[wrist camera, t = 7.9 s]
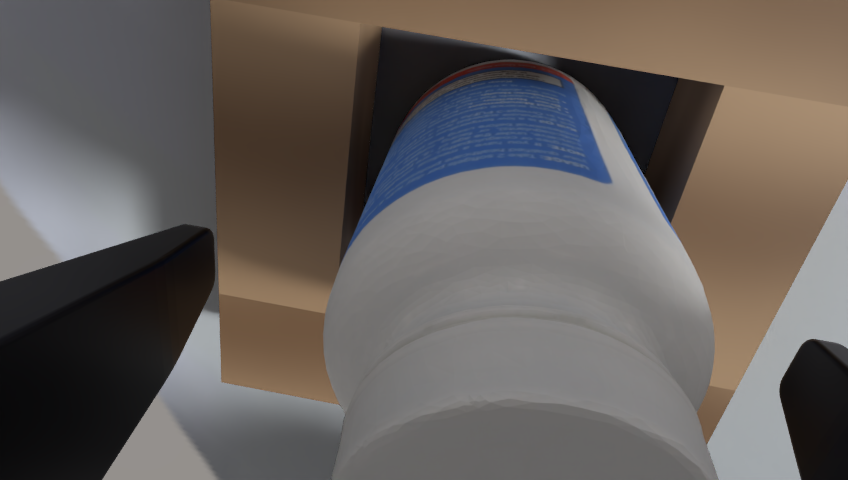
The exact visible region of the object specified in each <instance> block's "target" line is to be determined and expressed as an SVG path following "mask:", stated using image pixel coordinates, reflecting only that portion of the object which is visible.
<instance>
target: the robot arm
mask: <svg viewBox="0 0 848 480" xmlns="http://www.w3.org/2000/svg"><path fill="white" fill-rule="evenodd" d="M214 281H215V253H214V237H213V233H212V231H211V230H210V229H208V228H205V227H199V226H194V225H188V224H183V225H180V226H176V227H173V228H170V229H167V230H164V231H160V232H157V233H154V234H151V235H148V236H144V237H141V238H138V239H135V240H132V241H128V242H125V243H122V244H119V245H116V246H112V247H109V248H106V249H103V250H100V251H96V252H93V253H90V254H87V255H84V256H80V257H77V258H74V259H71V260H68V261H64V262H61V263H58V264H55V265H52V266H48V267H45V268H42V269H39V270H36V271H33V272H29V273H26V274H23V275H20V276H16V277H13V278H10V279H7V280H4V281H0V480H102V479H103V477H104V476H105V474H106V473H107V471H108V469H109V468H110V466H111V465H112V463H113V462H114V460H115V459H116V457H117V456H118V454H119V453H120V451H121V449H122V448H123V446H124V445H125V443H126V442H127V440H128V439H129V437H130V435H131V434H132V432H133V431H134V429H135V427H136V426H137V425H138V423H139V422H140V420H141V418H142V417H143V415H144V414H145V412H146V411H147V409H148V407H149V406H150V404H151V403H152V401H153V400H154V398H155V397H156V395H157V394H158V392H159V391H160V389H161V387H162V386H163V384H164V383H165V381H166V380H167V378H168V376H169V375H170V373H171V371H172V370H173V368H174V366H175V364H176V362H177V360H178V358H179V356H180V355H181V352H182V350H183V348H184V346H185V344H186V342H187V340H188V338H189V336H190V334H191V332H192V330H193V328H194V326H195V324H196V322H197V320H198V317H199V315H200V313H201V311H202V309H203V307H204V305H205V303H206V301H207V299H208V297H209V295H210V293H211V291H212V288H213V285H214ZM780 399H781V403H782V407H783V411H784V415H785V419H786V422H787V426H788V430H789V434H790V438H791V442H792V446H793V450H794V454H795V458H796V462H797V466H798V469H799V473H800V477H801V480H848V349H847V348H846V347H844V346H842V345H840V344H838V343H834V342H828V341H823V340H817V339H810V340H807V341H806V342H804V343H803V344H802V345H801V347H800V348H799V350H798V352H797V354H796V355H795V357H794V359H793V361H792V362H791V364H790V366H789V368H788V369H787V371H786V373H785V374H784V376H783V378H782V380H781V384H780Z"/></svg>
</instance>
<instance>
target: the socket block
mask: <svg viewBox="0 0 848 480" xmlns="http://www.w3.org/2000/svg"><path fill="white" fill-rule="evenodd" d="M210 12H211V45H212V79H213V112H214V146H215V179H216V213H217V246H218V280H219V313H220V347H221V380H222V382H224V383H229V384H234V385H240V386H245V387H250V388H255V389H260V390H266V391H271V392H276V393H281V394H286V395H292V396H297V397H302V398H307V399H312V400H318V401H323V402H328V403H333V404H338V405H340V404H339V402H338V400H337V398H336V395H335V393H334V390H333V388H332V386H331V382H330V379H329V376H328V373H327V370H326V364H325V358H324V346H323V331H324V320H325V313H326V308H327V304H328V300H329V296H330V293H331V290H332V287H333V284H334V282H335V279H336V276H337V273H338V270H339V268H340V265H341V262H342V260H343V258H344V255H345V253H346V250H347V248H348V246H349V243H350V241H351V239H352V236H353V234H354V232H355V230H356V227H357V225H358V222H359V220H360V217H361V215H362V213H363V205H364V195H365V185H366V176H367V166H368V157H369V147H370V137H371V128H372V118H373V109H374V99H375V89H376V80H377V70H378V61H379V51H380V41H381V32H382V27H386V28H392V29H398V30H404V31H410V32H415V33H421V34H427V35H433V36H439V37H445V38H450V39H456V40H462V41H468V42H474V43H480V44H485V45H491V46H497V47H503V48H509V49H514V50H520V51H526V52H532V53H538V54H544V55H549V56H555V57H561V58H567V59H573V60H579V61H584V62H590V63H596V64H602V65H608V66H614V67H619V68H625V69H631V70H637V71H643V72H648V73H654V74H660V75H666V76H672V77H678V78H679V79H678V82H677V85H676V87H675V90H674V93H673V96H672V99H671V102H670V105H669V107H668V110H667V113H666V116H665V119H664V122H663V125H662V127H661V130H660V133H659V136H658V139H657V142H656V145H655V147H654V150H653V153H652V156H651V159H650V162H649V164H648V167H647V170H646V173H645V176H644V177H645V178H646V180H647V182H648V184H649V186H650V188H651V189H652V191H653V193H654V195H655V197H656V199H657V201H658V202H659V204H660V206H661V208H662V210H663V211H664V213H665V215H666V217H667V218H668V220H669V222H670V224H671V225H672V227H673V229H674V230H675V232H676V234H677V236H678V237H679V239H680V241H681V243H682V245H683V247H684V249H685V251H686V253H687V254H688V256H689V258H690V260H691V262H692V264H693V266H694V268H695V270H696V272H697V274H698V276H699V279H700V281H701V283H702V285H703V288H704V292H705V295H706V298H707V302H708V305H709V308H710V312H711V316H712V321H713V326H714V340H715V354H714V363H713V370H712V375H711V379H710V384H709V386H708V389H707V392H706V395H705V397H704V399H703V401H702V404H701V406H700V408H699V410H698V411H697V415H698V418H699V421H700V424H701V427H702V432H703V436H704V439H705V442H706V445H707V443H708V441H709V439H710V437H711V436H712V434H713V432H714V430H715V428H716V426H717V424H718V422H719V421H720V419H721V417H722V415H723V413H724V411H725V409H726V407H727V405H728V404H729V402H730V400H731V398H732V396H733V394H734V392H735V390H736V389H737V387H738V385H739V383H740V381H741V379H742V377H743V375H744V374H745V372H746V370H747V368H748V366H749V364H750V362H751V360H752V359H753V357H754V355H755V353H756V351H757V349H758V347H759V345H760V344H761V342H762V340H763V338H764V336H765V334H766V332H767V330H768V328H769V327H770V325H771V323H772V321H773V319H774V317H775V315H776V313H777V312H778V310H779V308H780V306H781V304H782V302H783V300H784V298H785V297H786V295H787V293H788V291H789V289H790V287H791V285H792V283H793V282H794V280H795V278H796V276H797V274H798V272H799V270H800V268H801V266H802V265H803V263H804V261H805V259H806V257H807V255H808V253H809V251H810V250H811V248H812V246H813V244H814V242H815V240H816V238H817V236H818V235H819V233H820V231H821V229H822V227H823V225H824V223H825V221H826V220H827V218H828V216H829V214H830V212H831V210H832V208H833V206H834V205H835V203H836V201H837V199H838V197H839V195H840V193H841V191H842V189H843V188H844V186H845V184H846V182H847V180H848V0H210Z"/></svg>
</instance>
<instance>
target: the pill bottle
mask: <svg viewBox="0 0 848 480" xmlns="http://www.w3.org/2000/svg"><path fill="white" fill-rule="evenodd" d="M323 346H324V358H325V364H326V370H327V373H328V376H329V379H330V382H331V386H332V388H333V390H334V393H335V395H336V398H337V400H338V402H339V404H340V406H341V407H342V409H343V411H344V412H345V414H346V415H345V417H344V421H343V427H342V433H341V442H340V445H339V449H338V453H337V457H336V461H335V465H334V469H333V473H332V477H331V480H718V477H717V474H716V471H715V468H714V465H713V462H712V459H711V456H710V453H709V451H708V448H707V445H706V442H705V439H704V436H703V432H702V427H701V424H700V421H699V418H698V415H697V411H698V410H699V408H700V406H701V404H702V401H703V399H704V397H705V395H706V392H707V389H708V386H709V384H710V379H711V375H712V370H713V363H714V354H715V340H714V326H713V321H712V316H711V312H710V308H709V305H708V302H707V298H706V295H705V292H704V288H703V285H702V283H701V281H700V279H699V276H698V274H697V272H696V270H695V268H694V266H693V264H692V262H691V260H690V258H689V256H688V254H687V253H686V251H685V249H684V247H683V245H682V243H681V241H680V239H679V237H678V236H677V234H676V232H675V230H674V229H673V227H672V225H671V224H670V222H669V220H668V218H667V217H666V215H665V213H664V211H663V210H662V208H661V206H660V204H659V202H658V201H657V199H656V197H655V195H654V193H653V191H652V189H651V188H650V186H649V184H648V182H647V180H646V178H645V177H644V175H643V173H642V172H641V170H640V168H639V166H638V164H637V162H636V161H635V159H634V157H633V155H632V153H631V151H630V149H629V148H628V146H627V144H626V142H625V140H624V138H623V136H622V134H621V132H620V131H619V129H618V127H617V126H616V124H615V122H614V120H613V118H612V117H611V115H610V114H609V112H608V111H607V109H606V108H605V107H604V106H603V104H602V103H601V102H600V101H599V100H598V99H597V97H596V96H595V95H594V94H593V93H592V92H591V91H590V90H589V89H588V88H586V87H585V86H584V85H583V84H581V83H580V82H579V81H577V80H576V79H574V78H573V77H571V76H569V75H568V74H566V73H564V72H562V71H560V70H558V69H555V68H553V67H550V66H547V65H544V64H540V63H537V62H531V61H524V60H495V61H488V62H483V63H479V64H476V65H473V66H469V67H466V68H464V69H461V70H459V71H457V72H455V73H453V74H451V75H449V76H447V77H446V78H444V79H442V80H441V81H439V82H438V83H437V84H435V85H434V86H432V87H431V88H430V89H429V90H428V91H427V92H425V93H424V94H423V95H422V96H421V97H420V98H419V99H418V101H417V102H416V103H415V104H414V105H413V107H412V108H411V110H410V111H409V112H408V114H407V115H406V117H405V118H404V120H403V122H402V124H401V125H400V127H399V129H398V131H397V133H396V135H395V137H394V140H393V143H392V145H391V147H390V149H389V152H388V154H387V157H386V159H385V161H384V164H383V166H382V168H381V171H380V173H379V175H378V177H377V180H376V182H375V185H374V187H373V189H372V192H371V194H370V196H369V199H368V201H367V203H366V206H365V208H364V210H363V213H362V215H361V217H360V220H359V222H358V225H357V227H356V230H355V232H354V234H353V236H352V239H351V241H350V243H349V246H348V248H347V250H346V253H345V255H344V258H343V260H342V262H341V265H340V268H339V270H338V273H337V276H336V279H335V282H334V284H333V287H332V290H331V293H330V296H329V300H328V304H327V308H326V313H325V320H324V331H323Z"/></svg>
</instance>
